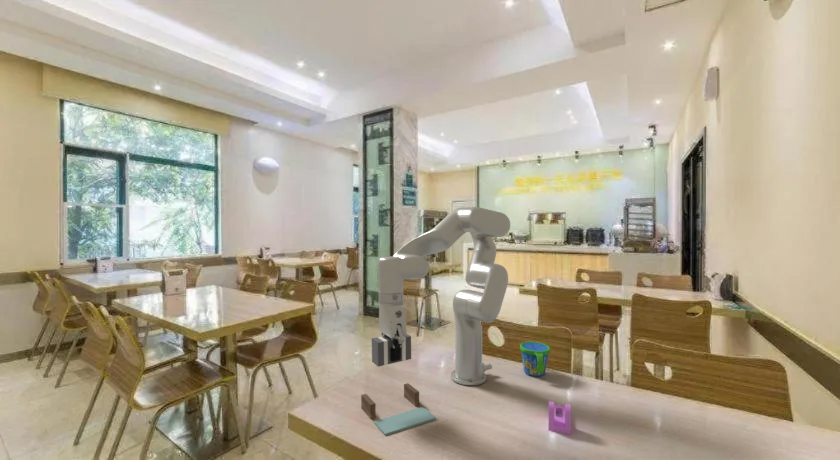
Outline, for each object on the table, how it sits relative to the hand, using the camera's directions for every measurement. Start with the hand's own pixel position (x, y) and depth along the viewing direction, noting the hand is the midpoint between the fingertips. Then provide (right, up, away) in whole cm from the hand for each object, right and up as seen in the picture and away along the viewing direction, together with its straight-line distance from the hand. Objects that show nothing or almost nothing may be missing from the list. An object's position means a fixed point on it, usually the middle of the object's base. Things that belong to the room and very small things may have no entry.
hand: (391, 357), depth 111 cm
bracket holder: (0, -15, 0) cm, 15 cm away
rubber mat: (+4, -15, -8) cm, 18 cm away
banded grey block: (0, -1, 0) cm, 1 cm away
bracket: (+48, -16, -7) cm, 51 cm away
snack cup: (+51, -15, +25) cm, 59 cm away
